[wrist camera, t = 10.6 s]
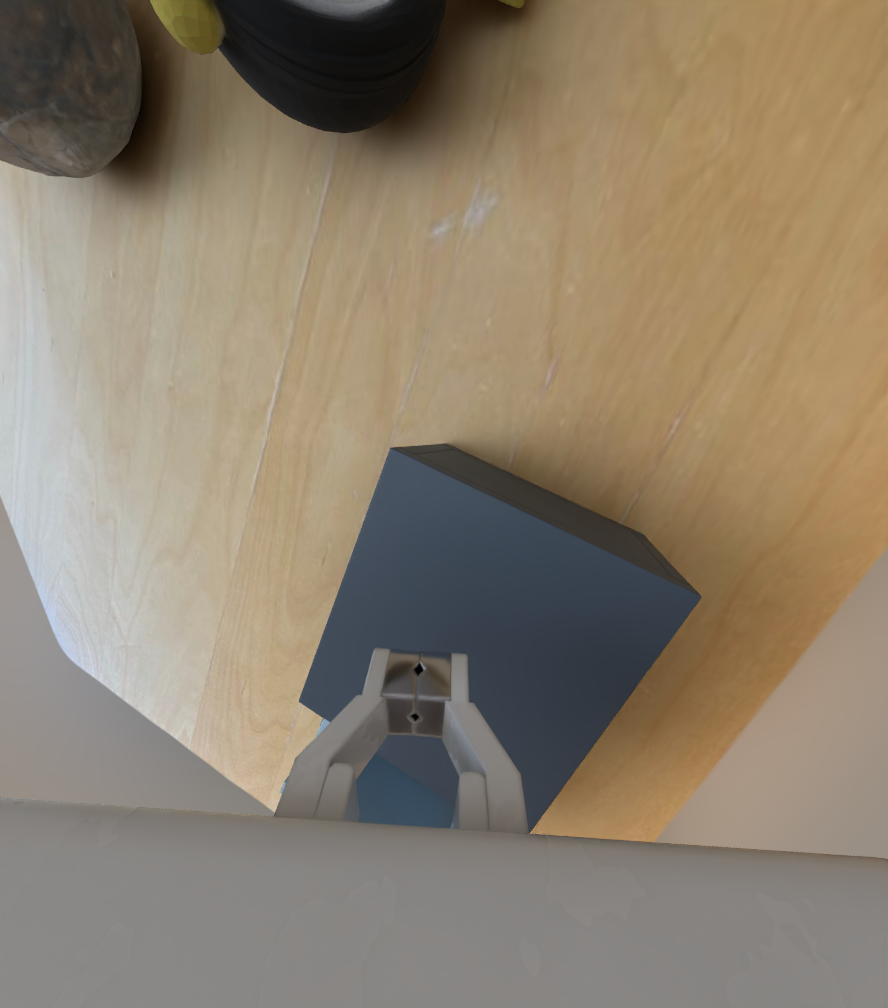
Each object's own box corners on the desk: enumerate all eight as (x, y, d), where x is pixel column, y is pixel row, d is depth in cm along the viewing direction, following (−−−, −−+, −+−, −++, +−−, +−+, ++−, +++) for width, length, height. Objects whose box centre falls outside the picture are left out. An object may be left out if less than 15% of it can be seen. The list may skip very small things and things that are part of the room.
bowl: (32, 159, 30) (-208, 31, 20) (74, -76, 25) (-217, -389, 15) (144, 248, 28) (-60, 154, 19) (213, 17, 23) (-18, -269, 14)
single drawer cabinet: (528, 717, 26) (518, 849, 18) (371, 624, 29) (297, 701, 20) (644, 534, 22) (703, 596, 13) (445, 443, 24) (390, 446, 16)
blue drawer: (449, 836, 29) (420, 952, 22) (324, 750, 31) (264, 832, 25) (557, 664, 24) (560, 750, 17) (396, 575, 26) (344, 621, 19)
